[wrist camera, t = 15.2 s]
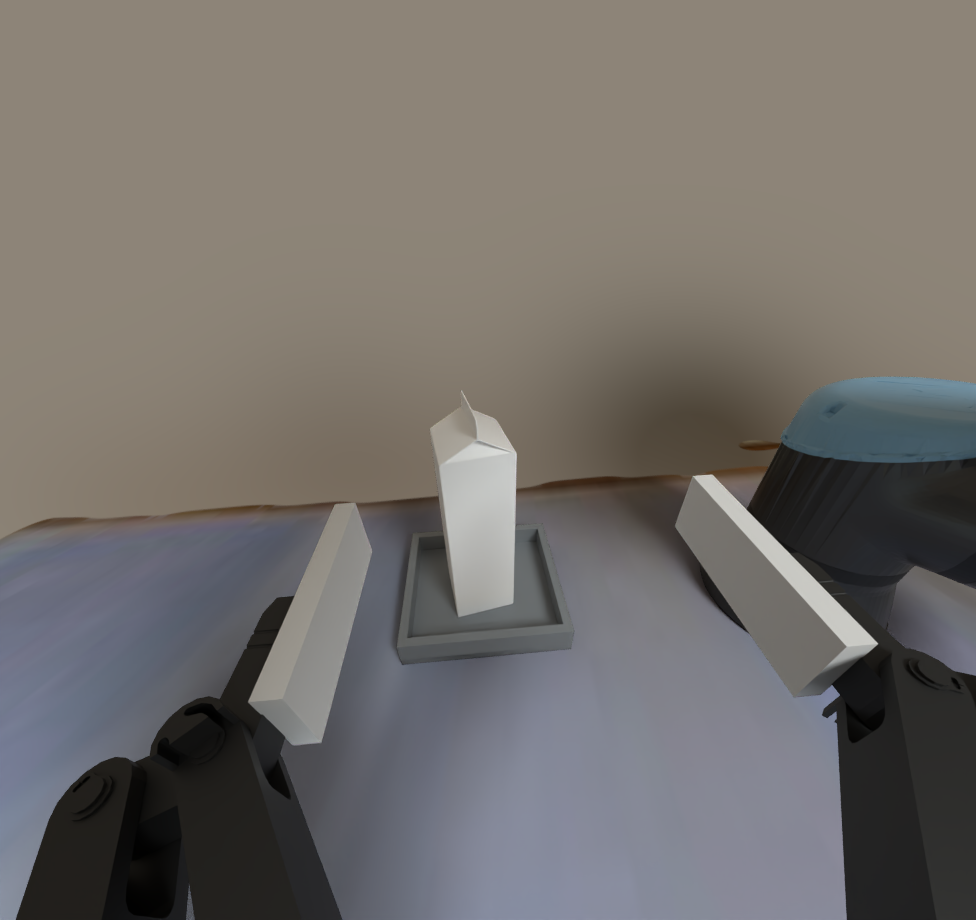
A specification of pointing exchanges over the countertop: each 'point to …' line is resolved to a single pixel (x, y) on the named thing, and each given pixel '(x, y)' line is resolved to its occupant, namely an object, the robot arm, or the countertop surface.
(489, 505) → the milk
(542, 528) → the tray
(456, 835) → the countertop surface
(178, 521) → the countertop surface
